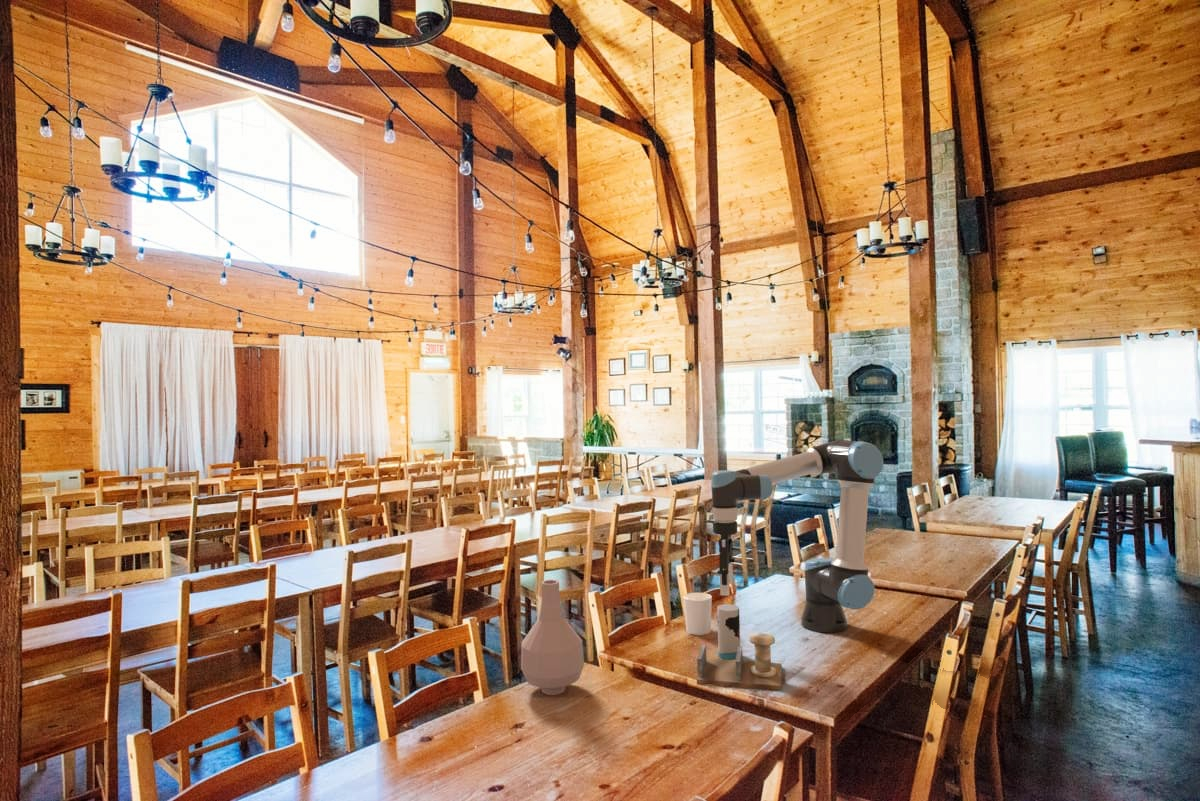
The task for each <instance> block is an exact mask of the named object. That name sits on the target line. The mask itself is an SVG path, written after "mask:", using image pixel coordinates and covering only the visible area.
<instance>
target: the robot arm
mask: <svg viewBox="0 0 1200 801" xmlns="http://www.w3.org/2000/svg"><path fill="white" fill-rule="evenodd" d="M883 469H884V457H883V454H882V452H881V451H880V449H879V448H878V447H877V446H876V445H875V444H872V443H871V442H866V441H862V440H857V441H856V440H843V439H840V440H838V439H837V440H832V441H830V442H826V443H822V444H819V445H816V446H813V447H809V448H807V449H806V451H805V452H802V453H799V454H794V455H791V456H787V457H783V458H779V459H775V460H772V461H769V462H764V463H762V464H757V465H754V466H749V467H746V468H744V469H737V470H735V471H734V470H724V469H723V470H714V471H713V472H712V474H711V485H710V486H711V487H710V488H711V503H712V504H711V506H712V509H710V513H711V514H712V520H713V521H712V533H714V534H715V535H719V536H720V538H719V539H718V552H719V563H718V564H719V566H718V567H719V570H717V572H716V574H717V575H719V588H720V589H719V591H720V594H719V595H720V596H729V597H730V595H731V594H730V593H731V591H730V585H732V584H734V576H733V574H734V572H733V563H735V558H733V538H732V536H733V535H737V533H738V522H737V519H738V507H737V506H738V504H737V503H738V502H739V501H750V500H751V501H754V500H760V501H761V500H764V499H769V498H770V497H771V496H772V494H773V485H775V484H778V483H779V484H780V483H782V482H786V481H791V480H793V479H794V480H795V479H796V478H797V479H798V478H800V477H805V476H808V475H811V474H812V475H814V476H819V475H823V474H835V475H836V481H837V482H838V483H839V485H840V487H841V488H840V499H839V500H840V501H839V514H838V524H837V525H838V526H837V538H836V540H837V542H836V553H835V554H836V556H835V558H834V557H832V558H831V557H826V558H825V557H822V558H818V557H817V558H810V559H807V560H806V561H805V563H804V581H805V584H804V586H805V605H804V608H803V611H802V614H801V618H800V619H801V620H800V622H801V626H802V627H803V628H804V629H807V630H810V631H813V632H819V633H841V632H843V631H846V630H847V629H848V619H847V617H846V614H845V611H844V608H845V609H850V610H861V609H864V608H866V607H867V605H869V604H870V603H871V602H872V600H873V598H874V595H875V589H876V588H875V583H874V581H873V580H872V579H871V578H870V577H869V574H868V573H869V566H868V565H867V564H866V563H865V552H866V551H865V548H866V537H867V536H866V535H867V534H866V532H867V521H868V508H869V495H870V494H869V491H870V488H872V487H873V486H874V485H875V478H877V477H878V476H879V475H880V473H881V472H882V470H883ZM737 501H738V502H737ZM843 607H844V608H843Z"/></svg>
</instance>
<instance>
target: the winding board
mask: <svg viewBox="0 0 1200 801" xmlns="http://www.w3.org/2000/svg"><path fill="white" fill-rule="evenodd" d="M775 639H776V638H775V636H773V635H772V634H767V633H753V634H751V635H750V636H749V642H750V643H751V644H752V645H754V646H753V647H754V661H753V660H752V661H749V660H743V659H744V657H743V646H741V645H740V646H738V649H737V656H736V660H725V659H722V658H720V659H718V658H707V645H706V643H701V645H700V649H699V652H698V655H697V658H696V662H697V663H696V665H697V666H696V667H697V677H696V684H697V685H707V684H714V685H713V686H720V685H726V686H725V687H733V686H735V687H736V688H749V689H761V690H774V691H783V690H782V689H783V688H782V687H783V685H782V679H783V678H782V663H778V662H772V656H771V655H772V654H771V653H772V652H771V646H772V645H774V644H776V640H775ZM727 685H728V686H727ZM735 687H734V688H735Z"/></svg>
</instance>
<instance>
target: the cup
mask: <svg viewBox="0 0 1200 801" xmlns="http://www.w3.org/2000/svg"><path fill="white" fill-rule="evenodd" d="M716 611H717V613H716V615H717V617H716V619H717V642H718V643H717V646H718V648H717V649H718V657H719V658H720V659H722V660H736V656H737V649H738V646H741V630H740V628H741V626H740V625H741V623H740V622H741V621H740V620H741V619H740V606H738V605H735V604H730V603H728V604H727V603H726V604H725V603H724V604H720V605H719V604H718V606H717V607H716Z"/></svg>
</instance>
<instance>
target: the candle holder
mask: <svg viewBox="0 0 1200 801" xmlns="http://www.w3.org/2000/svg"><path fill="white" fill-rule="evenodd" d="M682 596H683V607H684V609H683V610H684V620H685V629H686V633H688V634H689V635H692V634H693V636H705V634H706V635H709V634H710V633H711V630H712V602H713V601H712V599H713V597H712V595H711V594H708V593H705V592H688V593H686V594H683V595H682Z"/></svg>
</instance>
